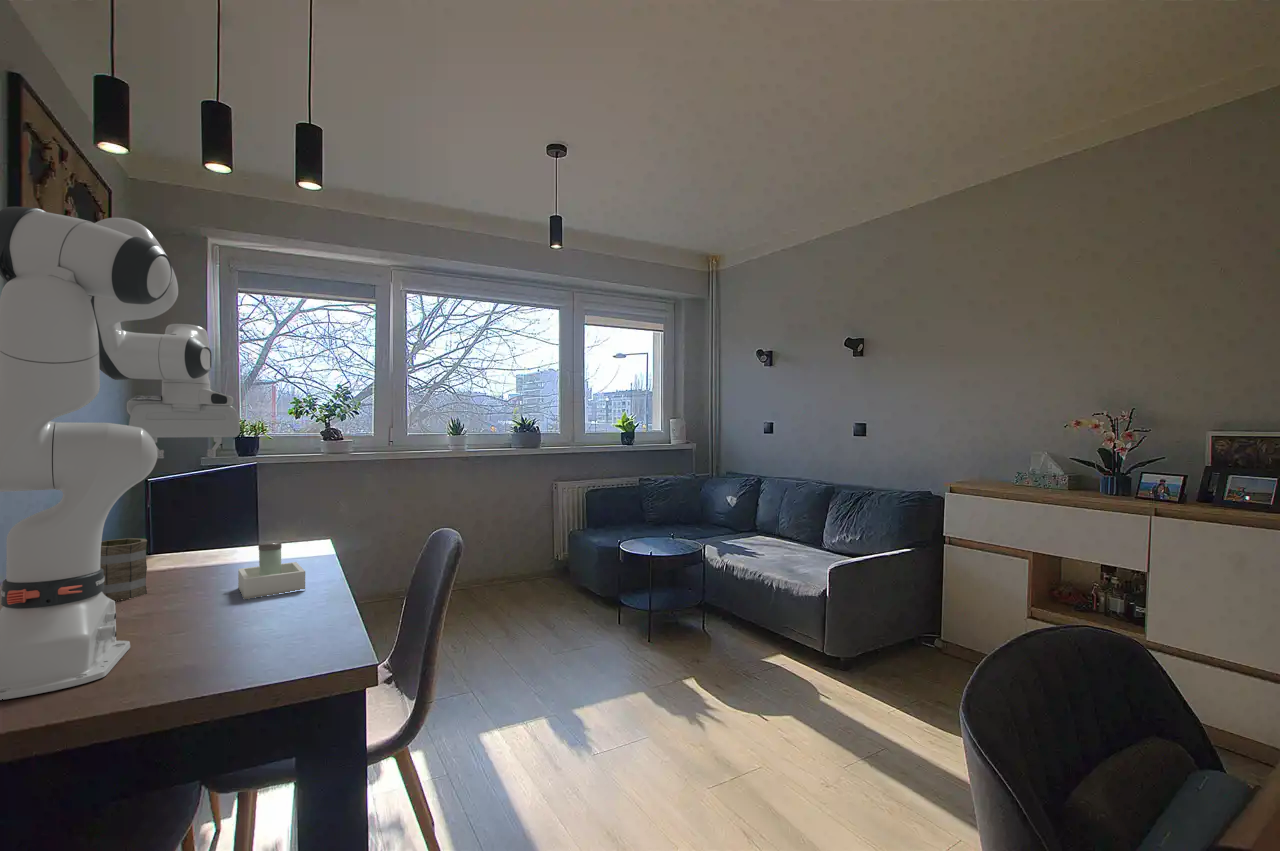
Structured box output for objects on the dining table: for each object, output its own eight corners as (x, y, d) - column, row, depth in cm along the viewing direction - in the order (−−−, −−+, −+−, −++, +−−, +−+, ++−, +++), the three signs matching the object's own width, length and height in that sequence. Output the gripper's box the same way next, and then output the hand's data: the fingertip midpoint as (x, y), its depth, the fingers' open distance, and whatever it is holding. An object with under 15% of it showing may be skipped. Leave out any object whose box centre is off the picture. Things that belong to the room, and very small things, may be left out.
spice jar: (283, 587, 141) (283, 543, 141) (260, 590, 138) (260, 546, 138) (280, 583, 145) (279, 540, 145) (257, 586, 142) (257, 543, 142)
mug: (158, 592, 138) (159, 540, 138) (100, 605, 129) (101, 549, 129) (121, 584, 145) (121, 534, 145) (63, 596, 135) (63, 542, 135)
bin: (305, 591, 141) (305, 571, 141) (243, 600, 133) (244, 579, 133) (296, 580, 150) (296, 561, 150) (238, 588, 142) (238, 568, 142)
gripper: (125, 394, 128) (125, 459, 128) (240, 397, 141) (240, 457, 141) (127, 395, 133) (126, 458, 133) (238, 398, 146) (237, 455, 146)
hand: (186, 457), depth 137 cm, fingers open, 8 cm apart
